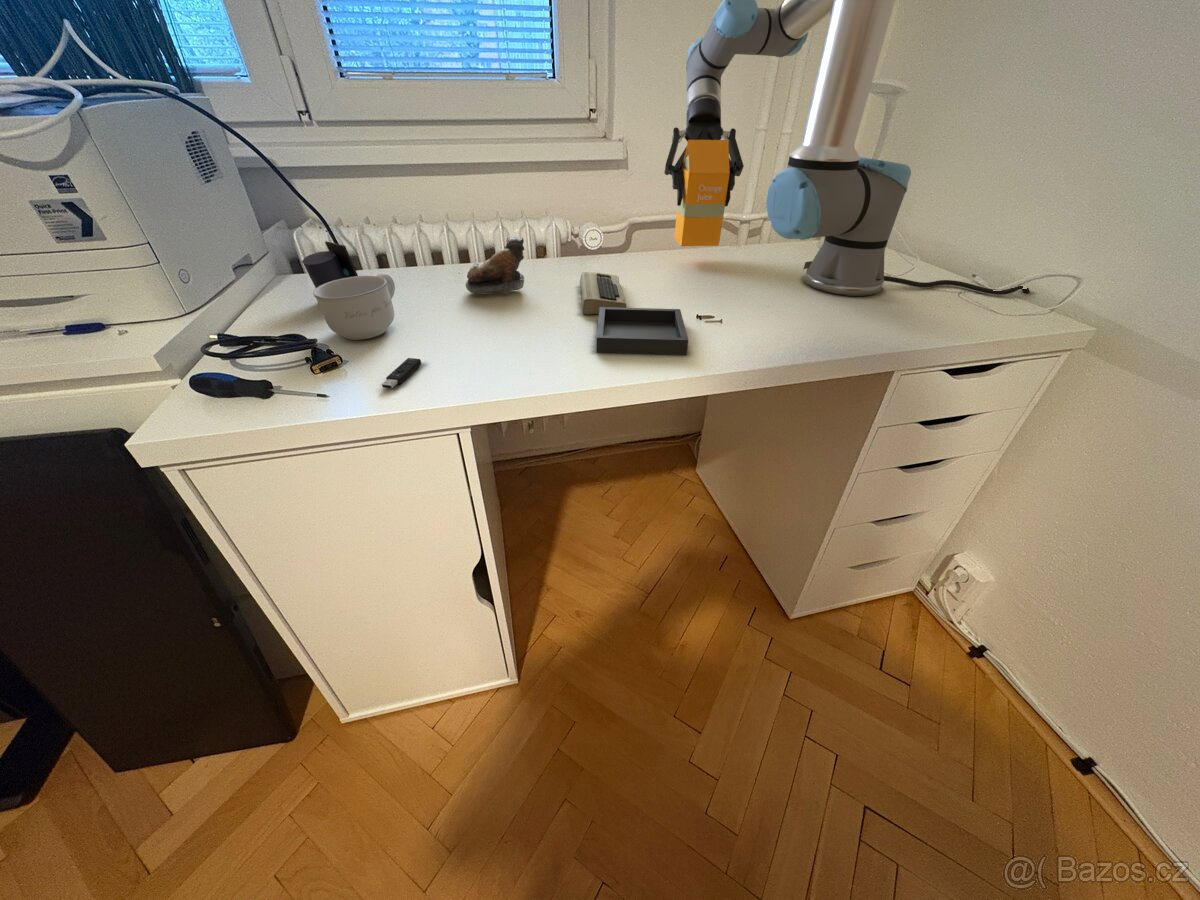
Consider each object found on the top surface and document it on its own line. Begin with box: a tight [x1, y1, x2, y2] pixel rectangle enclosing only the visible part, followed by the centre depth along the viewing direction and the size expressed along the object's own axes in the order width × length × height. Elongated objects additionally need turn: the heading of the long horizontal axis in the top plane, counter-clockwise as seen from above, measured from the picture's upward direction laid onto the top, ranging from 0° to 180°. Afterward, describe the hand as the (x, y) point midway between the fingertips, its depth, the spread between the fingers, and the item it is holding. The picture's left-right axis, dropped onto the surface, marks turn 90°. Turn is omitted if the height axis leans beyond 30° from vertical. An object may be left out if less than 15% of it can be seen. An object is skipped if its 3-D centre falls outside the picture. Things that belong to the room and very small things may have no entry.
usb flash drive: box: [381, 357, 422, 389], centre depth 67 cm, size 8×2×1 cm, turn 170°
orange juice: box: [673, 139, 730, 247], centre depth 106 cm, size 8×9×20 cm
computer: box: [579, 271, 627, 315], centre depth 93 cm, size 16×8×3 cm, turn 3°
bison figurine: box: [465, 236, 525, 295], centre depth 93 cm, size 12×7×10 cm, turn 103°
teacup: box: [312, 273, 396, 341], centre depth 78 cm, size 14×11×8 cm
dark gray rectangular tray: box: [595, 307, 689, 356], centre depth 79 cm, size 14×13×2 cm
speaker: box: [301, 240, 359, 289], centre depth 88 cm, size 8×6×10 cm
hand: (703, 201), depth 104 cm, fingers closed on orange juice, 9 cm apart
